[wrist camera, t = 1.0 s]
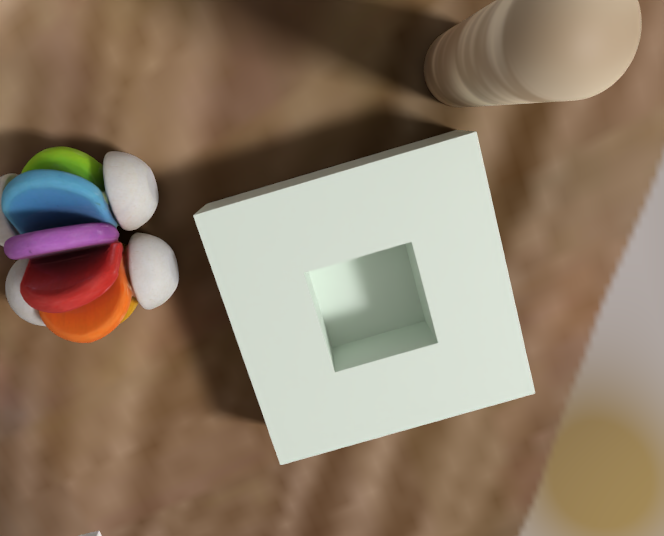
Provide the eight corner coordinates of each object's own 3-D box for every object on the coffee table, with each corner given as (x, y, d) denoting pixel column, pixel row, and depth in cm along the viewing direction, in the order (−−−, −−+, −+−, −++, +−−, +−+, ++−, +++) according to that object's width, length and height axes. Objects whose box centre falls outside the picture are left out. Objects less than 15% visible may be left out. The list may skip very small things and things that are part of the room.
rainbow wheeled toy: (46, 330, 35) (-21, 385, 28) (-8, 159, 32) (-96, 171, 25) (193, 303, 35) (164, 350, 28) (150, 130, 32) (106, 133, 25)
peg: (415, 39, 32) (497, -19, 18) (490, 17, 31) (630, -59, 18) (433, 116, 32) (524, 116, 19) (506, 95, 32) (651, 79, 19)
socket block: (206, 203, 33) (193, 215, 29) (456, 129, 33) (476, 131, 29) (283, 428, 36) (280, 465, 33) (510, 363, 36) (535, 393, 32)
